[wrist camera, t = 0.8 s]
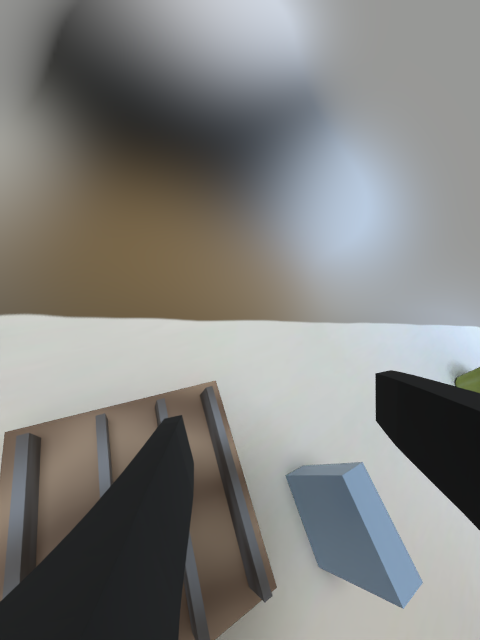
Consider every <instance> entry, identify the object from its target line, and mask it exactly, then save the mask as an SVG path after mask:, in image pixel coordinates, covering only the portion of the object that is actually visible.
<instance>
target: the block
mask: <svg viewBox="0 0 480 640" xmlns="http://www.w3.org/2000/svg"><path fill="white" fill-rule="evenodd" d="M285 476H286V478H287V481H288V484H289V487H290V489H291V492H292V495H293V498H294V500H295V503H296V506H297V509H298V511H299V514H300V517H301V520H302V522H303V525H304V528H305V531H306V533H307V536H308V539H309V542H310V544H311V547H312V550H313V553H314V555H315V558H316V561H317V563H318V566H319V567H320V568H322V569H324V570H326V571H328V572H330V573H332V574H334V575H336V576H338V577H340V578H342V579H344V580H346V581H348V582H350V583H352V584H354V585H356V586H358V587H360V588H362V589H364V590H366V591H368V592H370V593H372V594H375V595H377V596H379V597H381V598H383V599H385V600H387V601H389V602H391V603H393V604H395V605H397V606H399V607H401V608H403V609H404V607H405V606H406V605H407V603H408V602H409V601H410V599H411V598H412V596H413V595H414V594H415V592H416V591H417V590H418V588H419V587H420V586H421V584H422V583H423V582H422V580H421V578H420V576H419V574H418V572H417V570H416V568H415V566H414V564H413V562H412V560H411V558H410V556H409V554H408V552H407V550H406V548H405V546H404V544H403V542H402V540H401V538H400V536H399V534H398V532H397V530H396V528H395V526H394V524H393V522H392V520H391V518H390V516H389V514H388V512H387V510H386V508H385V506H384V504H383V502H382V500H381V498H380V496H379V494H378V492H377V490H376V488H375V486H374V484H373V482H372V480H371V478H370V476H369V474H368V472H367V470H366V468H365V466H364V464H363V462H357V463H340V464H323V465H306V466H302V467H300V468H298V469H296V470H294V471H293V472H291V473H289V474H287V475H285Z"/></svg>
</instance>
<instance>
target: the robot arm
mask: <svg viewBox="0 0 480 640" xmlns="http://www.w3.org/2000/svg"><path fill="white" fill-rule="evenodd" d="M376 421H377V423H378V424H379V425H380V426H381V428H382V429H383V430H384V432H385V433H386V434H387V435H388V437H389V438H390V439H391V440H392V442H393V443H394V444H395V445H396V446H397V447H398V448H399V449H400V450H401V452H402V453H403V454H404V455H405V456H406V457H407V458H408V459H409V460H410V461H411V462H412V463H413V464H414V465H415V466H416V467H417V468H418V469H419V470H420V471H421V472H422V473H423V474H424V475H425V476H426V477H427V478H428V479H429V480H430V481H431V482H432V483H433V484H434V485H435V486H436V487H437V488H438V489H439V490H440V491H441V492H442V493H443V494H444V495H445V496H446V497H447V498H448V499H449V500H450V501H451V502H452V503H453V504H454V505H455V506H456V507H458V508H459V509H460V510H461V511H462V512H463V513H464V514H465V516H466V517H467V518H468V519H469V520H470V521H471V522H472V523H473V524H474V525H475V526H476V527H477V528H478V529H479V530H480V393H478V392H474V391H470V390H467V389H463V388H459V387H456V386H452V385H448V384H444V383H441V382H437V381H433V380H430V379H426V378H422V377H418V376H414V375H410V374H406V373H402V372H397V371H391V370H390V371H386V372H381V373H376ZM193 496H194V460H193V456H192V452H191V448H190V445H189V441H188V437H187V433H186V429H185V425H184V421H183V417H182V415H179V416H174V417H170V418H165V419H164V420H163V421H162V422H161V423H160V425H159V426H158V427H157V429H156V430H155V431H154V432H153V434H152V435H151V436H150V438H149V439H148V440H147V442H146V443H145V444H144V446H143V447H142V448H141V449H140V451H139V452H138V453H137V455H136V456H135V457H134V458H133V460H132V461H131V462H130V463H129V465H128V466H127V467H126V468H125V470H124V471H123V472H122V473H121V474H120V476H119V477H118V478H117V479H116V480H115V482H114V483H113V484H112V485H111V486H110V487H109V489H108V490H107V491H106V492H105V493H104V494H103V496H102V497H101V498H100V499H99V500H98V501H97V503H96V504H95V505H94V506H93V507H92V508H91V510H90V511H89V512H88V513H87V514H86V515H85V516H84V517H83V518H82V520H81V521H80V522H79V523H78V524H77V525H76V526H75V527H74V528H73V529H72V530H71V531H70V533H69V534H68V535H67V536H66V537H65V538H64V539H63V540H62V541H61V542H60V543H59V544H58V545H57V546H56V547H55V548H54V549H53V550H52V551H51V552H50V553H49V554H48V555H47V556H46V557H45V558H44V560H43V561H42V562H41V563H40V564H39V565H38V566H37V567H36V568H35V569H34V570H33V571H32V572H31V573H30V574H29V575H27V576H26V577H25V578H24V579H23V580H22V581H21V582H20V583H19V584H18V585H17V586H16V587H15V588H14V589H13V590H12V591H11V592H10V593H9V594H8V595H7V596H6V597H5V598H4V599H3V600H1V601H0V640H178V639H179V620H180V609H181V598H182V589H183V580H184V572H185V564H186V555H187V547H188V539H189V531H190V522H191V514H192V505H193Z"/></svg>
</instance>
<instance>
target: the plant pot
mask: <svg viewBox="0 0 480 640" xmlns="http://www.w3.org/2000/svg"><path fill="white" fill-rule="evenodd" d="M455 383H456V387H459V388H463V389H467V390H470V391H474V392H478V393H480V367H479V368H477V369H474V370H472V371H470V372H468V373H466V374H463V375H461V376H459V377H457V380H456V382H455Z"/></svg>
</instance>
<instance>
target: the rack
mask: <svg viewBox="0 0 480 640" xmlns="http://www.w3.org/2000/svg"><path fill="white" fill-rule="evenodd" d="M179 415H182V417H183V421H184V425H185V429H186V433H187V437H188V441H189V445H190V448H191V452H192V456H193V460H194V496H193V505H192V514H191V522H190V531H189V539H188V547H187V555H186V564H185V572H184V580H183V589H182V598H181V609H180V620H179V639H178V640H215V639H216V638H217V637H219V636H220V635H221V634H222V633H223V632H224V631H226V630H227V629H228V628H229V627H230V626H232V625H233V624H234V623H235V622H236V621H238V620H239V619H240V618H241V617H242V616H244V615H245V614H246V613H247V612H248V611H249V610H251V609H252V608H253V607H254V606H255V605H257V604H258V603H259V602H260V601H261V600H263V601H264V602H266V601H267V600H268V599H269V598H271V597H272V593H271V592H272V591H273V590H274V589H276V588H277V586H276V583H275V580H274V576H273V573H272V570H271V566H270V563H269V559H268V556H267V553H266V549H265V546H264V542H263V539H262V536H261V532H260V529H259V526H258V522H257V519H256V515H255V512H254V509H253V505H252V502H251V498H250V495H249V492H248V488H247V485H246V481H245V478H244V475H243V471H242V468H241V465H240V461H239V458H238V454H237V451H236V448H235V444H234V441H233V437H232V434H231V431H230V427H229V424H228V421H227V417H226V414H225V410H224V407H223V404H222V400H221V397H220V393H219V390H218V387H217V383H216V381H212V382H208V383H204V384H200V385H196V386H192V387H188V388H184V389H179V390H175V391H171V392H167V393H163V394H159V395H155V396H151V397H147V398H143V399H139V400H135V401H131V402H127V403H122V404H118V405H114V406H110V407H106V408H102V409H98V410H94V411H90V412H86V413H82V414H78V415H74V416H69V417H65V418H61V419H57V420H53V421H49V422H45V423H41V424H37V425H33V426H29V427H25V428H21V429H16V430H12V431H8V432H5V435H4V445H3V454H2V463H1V473H0V601H1V600H3V599H4V598H5V597H6V596H7V595H8V594H9V593H10V592H11V591H12V590H13V589H14V588H15V587H16V586H17V585H18V584H19V583H20V582H21V581H22V580H23V579H24V578H25V577H26V576H27V575H29V574H30V573H31V572H32V571H33V570H34V569H35V568H36V567H37V566H38V565H39V564H40V563H41V562H42V561H43V560H44V558H45V557H46V556H47V555H48V554H49V553H50V552H51V551H52V550H53V549H54V548H55V547H56V546H57V545H58V544H59V543H60V542H61V541H62V540H63V539H64V538H65V537H66V536H67V535H68V534H69V533H70V531H71V530H72V529H73V528H74V527H75V526H76V525H77V524H78V523H79V522H80V521H81V520H82V518H83V517H84V516H85V515H86V514H87V513H88V512H89V511H90V510H91V508H92V507H93V506H94V505H95V504H96V503H97V501H98V500H99V499H100V498H101V497H102V496H103V494H104V493H105V492H106V491H107V490H108V489H109V487H110V486H111V485H112V484H113V483H114V482H115V480H116V479H117V478H118V477H119V476H120V474H121V473H122V472H123V471H124V470H125V468H126V467H127V466H128V465H129V463H130V462H131V461H132V460H133V458H134V457H135V456H136V455H137V453H138V452H139V451H140V449H141V448H142V447H143V446H144V444H145V443H146V442H147V440H148V439H149V438H150V436H151V435H152V434H153V432H154V431H155V430H156V429H157V427H158V426H159V425H160V423H161V422H162V421H163V420H164V419H165V418H170V417H174V416H179Z"/></svg>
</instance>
